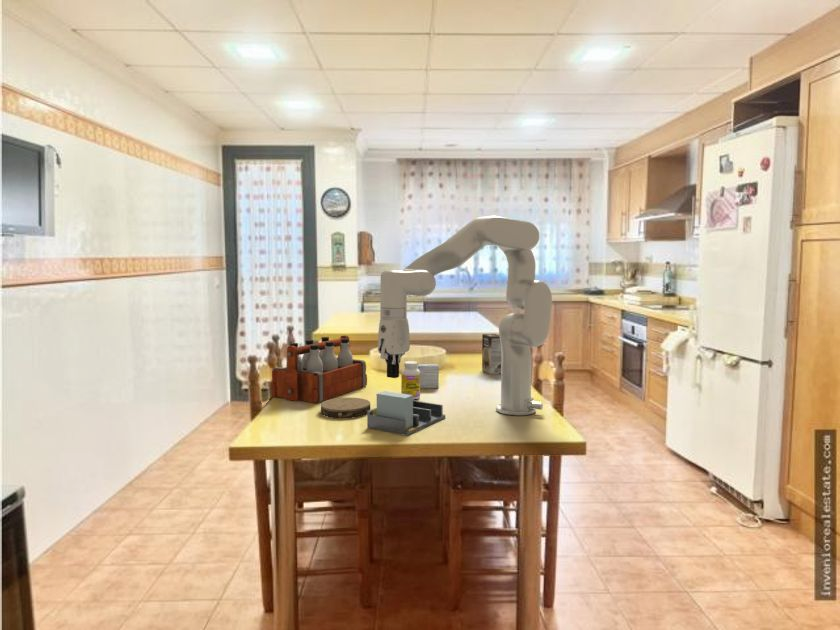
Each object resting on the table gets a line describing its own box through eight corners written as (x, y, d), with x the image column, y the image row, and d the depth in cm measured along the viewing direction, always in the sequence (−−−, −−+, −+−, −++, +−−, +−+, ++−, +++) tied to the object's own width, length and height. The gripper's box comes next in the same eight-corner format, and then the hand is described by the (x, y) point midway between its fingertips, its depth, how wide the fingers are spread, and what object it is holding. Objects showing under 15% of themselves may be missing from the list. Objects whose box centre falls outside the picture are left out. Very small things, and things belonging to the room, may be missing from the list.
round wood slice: (325, 406, 196) (324, 397, 195) (372, 406, 196) (372, 397, 195) (316, 419, 180) (316, 410, 179) (368, 419, 180) (368, 409, 179)
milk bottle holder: (266, 398, 205) (264, 344, 204) (327, 380, 236) (326, 333, 234) (312, 406, 195) (311, 349, 193) (371, 385, 226) (370, 336, 224)
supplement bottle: (403, 401, 201) (403, 364, 200) (399, 396, 207) (399, 361, 206) (422, 399, 203) (422, 363, 202) (417, 395, 209) (417, 360, 208)
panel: (413, 425, 168) (412, 395, 167) (405, 429, 165) (405, 398, 164) (384, 420, 173) (384, 391, 173) (376, 423, 170) (376, 393, 169)
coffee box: (481, 370, 255) (481, 333, 253) (494, 369, 257) (495, 333, 255) (490, 374, 246) (490, 336, 245) (503, 373, 248) (504, 336, 247)
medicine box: (438, 385, 225) (438, 363, 224) (438, 388, 220) (438, 366, 219) (417, 386, 224) (417, 364, 224) (417, 388, 220) (417, 366, 219)
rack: (445, 417, 180) (445, 402, 179) (407, 435, 162) (407, 418, 162) (407, 411, 187) (407, 396, 187) (367, 427, 170) (367, 411, 169)
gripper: (388, 316, 157) (388, 383, 159) (418, 312, 170) (417, 374, 172) (366, 314, 161) (366, 380, 163) (397, 311, 174) (397, 371, 176)
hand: (392, 377), depth 167 cm, fingers closed
